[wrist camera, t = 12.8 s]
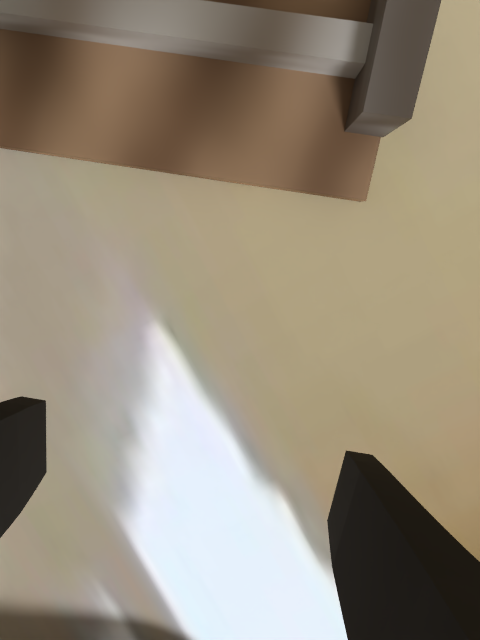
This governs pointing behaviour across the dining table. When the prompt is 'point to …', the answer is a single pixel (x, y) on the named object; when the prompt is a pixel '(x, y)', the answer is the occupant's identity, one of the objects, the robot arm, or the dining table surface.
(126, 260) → the dining table surface
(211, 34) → the rail board
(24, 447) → the robot arm
